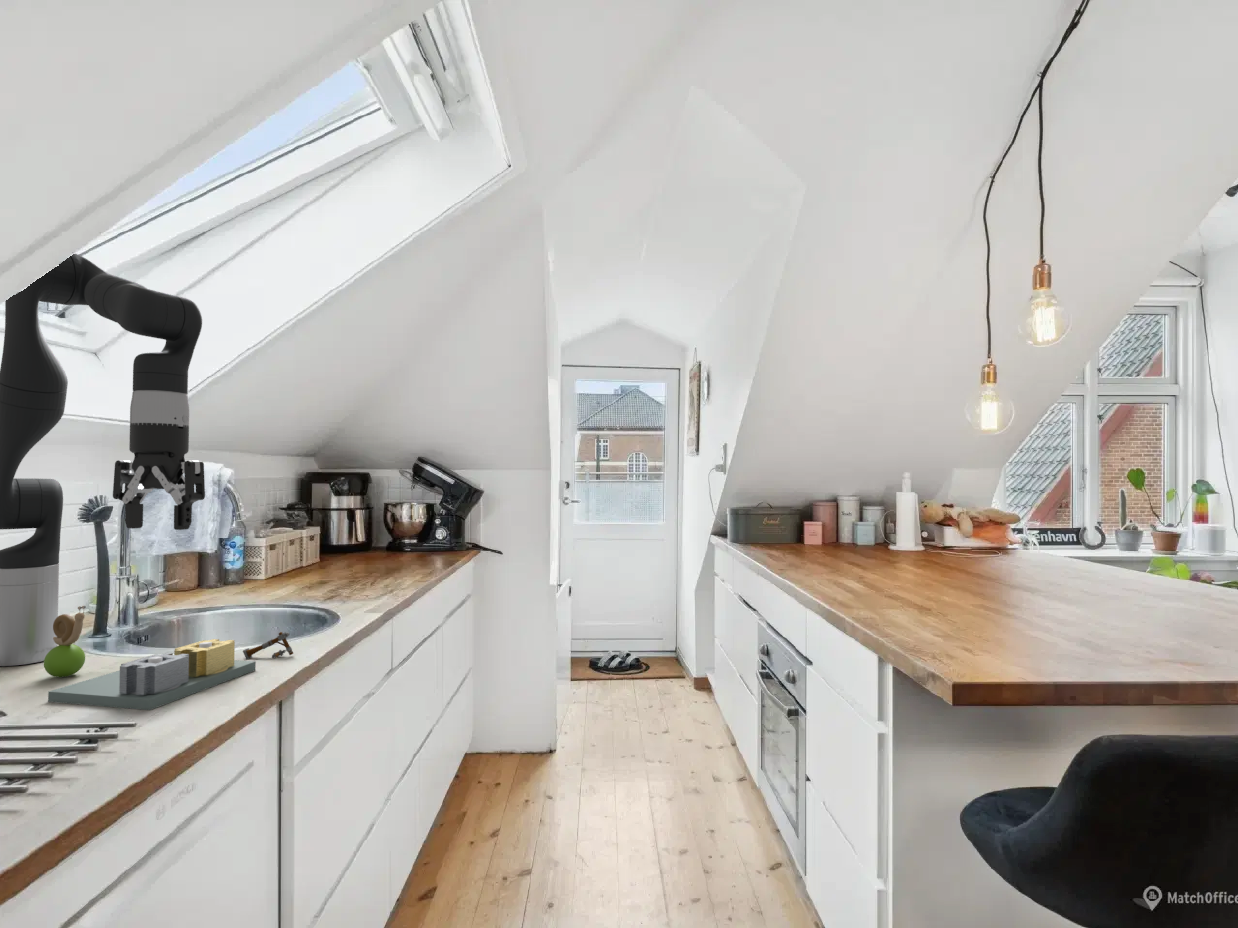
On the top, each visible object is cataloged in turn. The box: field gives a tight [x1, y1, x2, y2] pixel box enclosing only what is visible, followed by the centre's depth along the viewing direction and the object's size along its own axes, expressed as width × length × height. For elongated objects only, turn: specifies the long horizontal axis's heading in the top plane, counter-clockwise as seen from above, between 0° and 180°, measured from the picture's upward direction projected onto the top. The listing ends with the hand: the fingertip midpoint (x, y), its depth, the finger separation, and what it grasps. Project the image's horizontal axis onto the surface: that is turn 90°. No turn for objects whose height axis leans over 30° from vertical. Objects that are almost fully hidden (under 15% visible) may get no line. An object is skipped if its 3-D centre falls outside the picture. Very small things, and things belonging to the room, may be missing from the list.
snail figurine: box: [43, 605, 87, 678], centre depth 114 cm, size 5×6×12 cm
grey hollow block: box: [119, 652, 189, 696], centre depth 103 cm, size 6×8×4 cm
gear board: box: [47, 642, 256, 711], centre depth 110 cm, size 18×21×6 cm
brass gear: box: [173, 638, 236, 677], centre depth 113 cm, size 6×8×4 cm
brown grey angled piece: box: [242, 631, 294, 660], centre depth 127 cm, size 2×8×5 cm, turn 99°
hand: (158, 528), depth 104 cm, fingers open, 8 cm apart
